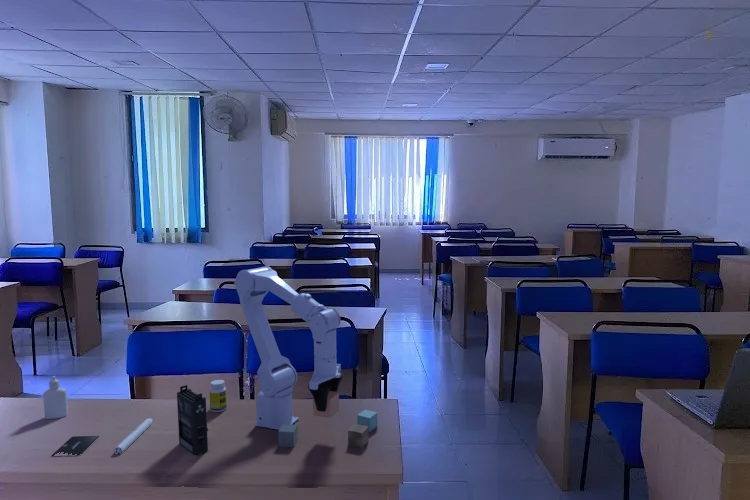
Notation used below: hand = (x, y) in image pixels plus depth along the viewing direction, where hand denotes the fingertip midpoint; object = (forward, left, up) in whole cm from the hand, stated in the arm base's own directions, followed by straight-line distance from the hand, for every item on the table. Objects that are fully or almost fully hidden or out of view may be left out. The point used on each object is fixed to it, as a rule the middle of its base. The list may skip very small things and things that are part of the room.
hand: (326, 406), depth 135 cm
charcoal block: (-8, -6, -8) cm, 13 cm away
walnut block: (+9, 0, -8) cm, 12 cm away
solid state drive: (-58, -26, -9) cm, 64 cm away
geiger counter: (-29, -16, -9) cm, 34 cm away
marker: (-48, -17, -9) cm, 51 cm away
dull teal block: (+8, +9, -8) cm, 15 cm away
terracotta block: (0, 0, -2) cm, 2 cm away
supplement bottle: (-38, +5, -9) cm, 39 cm away
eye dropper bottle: (-79, -15, -9) cm, 81 cm away
